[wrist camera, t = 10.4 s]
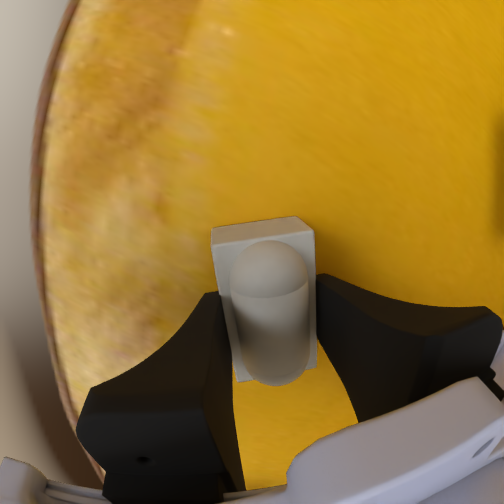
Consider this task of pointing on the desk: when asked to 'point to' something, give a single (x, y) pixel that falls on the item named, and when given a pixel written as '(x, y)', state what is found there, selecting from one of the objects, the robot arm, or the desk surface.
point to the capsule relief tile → (268, 297)
